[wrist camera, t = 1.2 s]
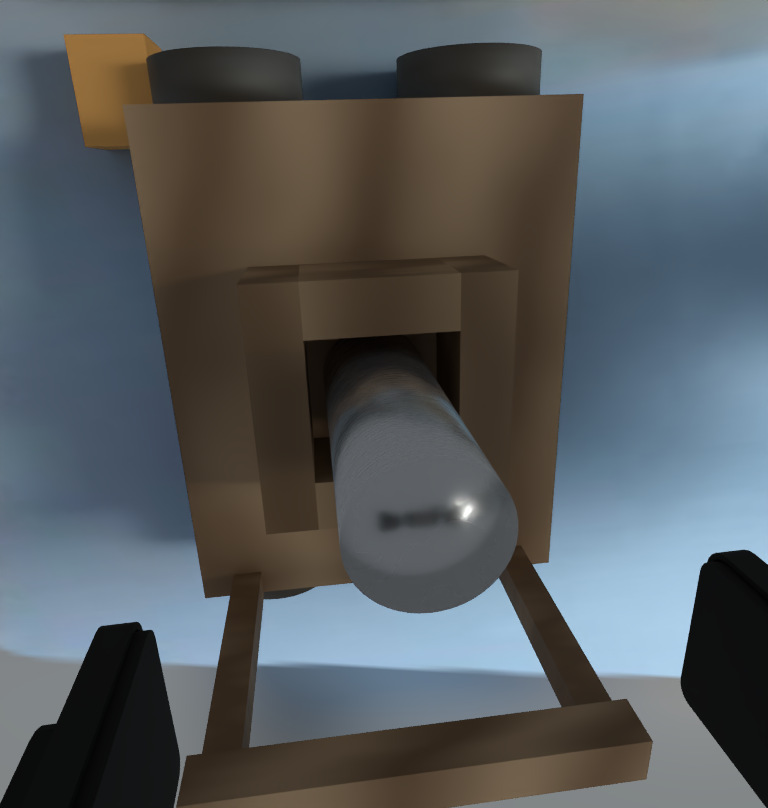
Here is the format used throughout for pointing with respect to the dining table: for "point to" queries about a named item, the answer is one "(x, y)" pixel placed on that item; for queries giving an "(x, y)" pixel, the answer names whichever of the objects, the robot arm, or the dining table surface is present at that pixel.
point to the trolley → (365, 317)
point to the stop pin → (410, 482)
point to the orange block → (108, 83)
